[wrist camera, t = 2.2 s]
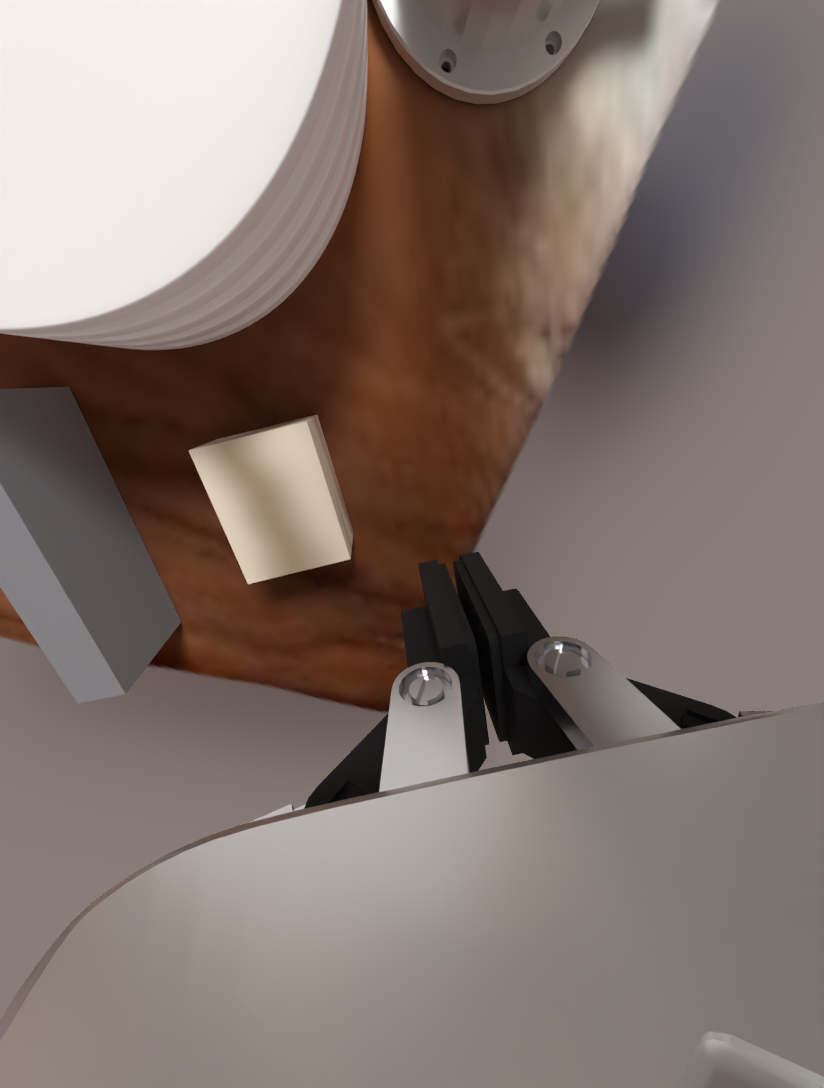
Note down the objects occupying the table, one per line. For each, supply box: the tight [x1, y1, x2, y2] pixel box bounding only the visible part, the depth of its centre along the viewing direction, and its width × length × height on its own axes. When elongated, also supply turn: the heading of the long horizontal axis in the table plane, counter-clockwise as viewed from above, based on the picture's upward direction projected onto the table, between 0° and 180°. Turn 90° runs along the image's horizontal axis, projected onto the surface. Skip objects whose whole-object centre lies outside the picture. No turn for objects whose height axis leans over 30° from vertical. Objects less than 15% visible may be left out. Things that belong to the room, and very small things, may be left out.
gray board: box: [0, 387, 181, 703], centre depth 25 cm, size 3×18×8 cm, turn 10°
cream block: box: [188, 415, 353, 584], centre depth 27 cm, size 7×9×5 cm
